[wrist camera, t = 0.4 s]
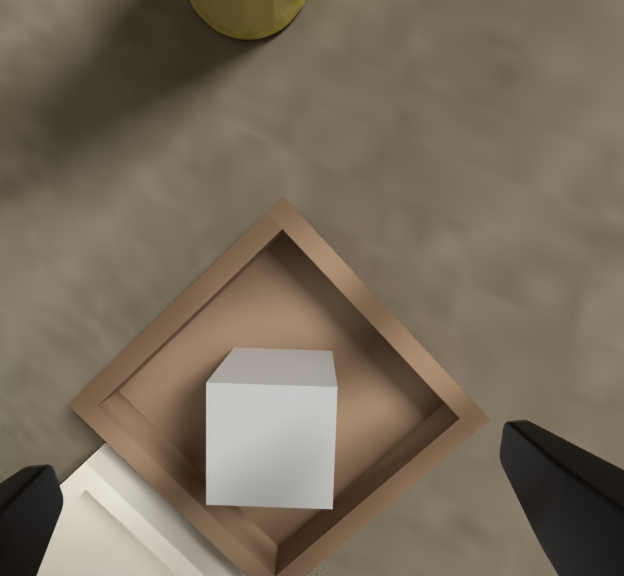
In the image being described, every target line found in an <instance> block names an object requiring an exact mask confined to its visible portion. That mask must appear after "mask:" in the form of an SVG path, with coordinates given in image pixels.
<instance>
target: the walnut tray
mask: <svg viewBox="0 0 624 576" xmlns="http://www.w3.org/2000/svg"><path fill="white" fill-rule="evenodd" d="M234 347H235V348H265V349H295V350H325V351H332V354H333V360H334V367H335V373H336V380H337V386H338V389H337V414H336V439H335V463H334V488H333V509H311V508H283V507H255V506H227V505H206V382H207V381H208V380H209V378H210V377H211V376H212V375H213V373H214V372H215V371H216V370H217V368H218V367H219V366H220V365H221V363H222V362H223V361H224V359H225V358H226V357H227V356H228V354H229V353H230V352H231V351H232V349H233V348H234ZM68 406H69V407H70V408H71V409H72V410H73V411H74V412H76V413H77V414H78V415H79V416H80V417H81V418H82V419H83V420H84V421H85V422H86V423H87V424H88V425H89V426H90V427H91V428H92V429H93V430H94V431H95V432H96V433H97V434H98V435H100V436H101V437H102V438H103V439H104V440H105V441H106V442H107V443H108V444H109V445H110V446H111V447H112V448H113V449H114V450H115V451H116V452H117V453H118V454H119V455H120V456H121V457H122V458H124V459H125V460H126V461H127V462H128V463H129V464H130V465H131V466H132V467H133V468H134V469H135V470H136V471H137V472H138V473H139V474H140V475H141V476H142V477H143V478H144V479H145V480H146V481H148V482H149V483H150V484H151V485H152V486H153V487H154V488H155V489H156V490H157V491H158V492H159V493H160V494H161V495H162V496H163V497H164V498H165V499H166V500H167V501H168V502H169V503H170V504H172V505H173V506H174V507H175V508H176V509H177V510H178V511H179V512H180V513H181V514H182V515H183V516H184V517H185V518H186V519H187V520H188V521H189V522H190V523H191V524H192V525H193V526H194V527H196V528H197V529H198V530H199V531H200V532H201V533H202V534H203V535H204V536H205V537H206V538H207V539H208V540H209V541H210V542H211V543H212V544H213V545H214V546H215V547H216V548H217V549H218V550H220V551H221V552H222V553H223V554H224V555H225V556H226V557H227V558H228V559H229V560H230V561H231V562H232V563H233V564H234V565H235V566H236V567H237V568H238V569H239V570H240V571H241V572H242V573H244V574H245V575H246V576H306V575H307V574H309V573H310V572H311V571H312V570H313V569H314V568H316V567H317V566H318V565H319V564H320V563H322V562H323V561H324V560H325V559H326V558H327V557H329V556H330V555H331V554H332V553H333V552H334V551H336V550H337V549H338V548H339V547H340V546H342V545H343V544H344V543H345V542H346V541H347V540H349V539H350V538H351V537H352V536H353V535H355V534H356V533H357V532H358V531H359V530H360V529H362V528H363V527H364V526H365V525H366V524H368V523H369V522H370V521H371V520H372V519H373V518H375V517H376V516H377V515H378V514H379V513H381V512H382V511H383V510H384V509H385V508H386V507H388V506H389V505H390V504H391V503H392V502H394V501H395V500H396V499H397V498H398V497H399V496H401V495H402V494H403V493H404V492H405V491H407V490H408V489H409V488H410V487H411V486H412V485H414V484H415V483H416V482H417V481H418V480H420V479H421V478H422V477H423V476H424V475H425V474H427V473H428V472H429V471H430V470H431V469H433V468H434V467H435V466H436V465H437V464H438V463H440V462H441V461H442V460H443V459H444V458H446V457H447V456H448V455H449V454H450V453H451V452H453V451H454V450H455V449H456V448H457V447H459V446H460V445H461V444H462V443H463V442H464V441H466V440H467V439H468V438H469V437H470V436H471V435H473V434H474V433H475V432H476V431H477V430H479V429H480V428H481V427H482V426H483V425H484V424H486V423H487V422H488V421H489V420H490V419H489V418H488V416H487V415H486V414H485V413H484V412H483V411H482V410H481V409H480V408H479V407H478V406H477V405H476V404H475V402H474V401H473V400H472V399H471V398H470V397H469V396H468V395H467V394H466V393H465V392H464V391H463V390H462V388H461V387H460V386H459V385H458V384H457V383H456V382H455V381H454V380H453V379H452V378H451V377H450V376H449V374H448V373H447V372H446V371H445V370H444V369H443V368H442V367H441V366H440V365H439V364H438V363H437V362H436V360H435V359H434V358H433V357H432V356H431V355H430V354H429V353H428V352H427V351H426V350H425V349H424V348H423V346H422V345H421V344H420V343H419V342H418V341H417V340H416V339H415V338H414V337H413V336H412V335H411V334H410V332H409V331H408V330H407V329H406V328H405V327H404V326H403V325H402V324H401V323H400V322H399V321H398V320H397V318H396V317H395V316H394V315H393V314H392V313H391V312H390V311H389V310H388V309H387V308H386V307H385V306H384V304H383V303H382V302H381V301H380V300H379V299H378V298H377V297H376V296H375V295H374V294H373V293H372V292H371V290H370V289H369V288H368V287H367V286H366V285H365V284H364V283H363V282H362V281H361V280H360V279H359V278H358V276H357V275H356V274H355V273H354V272H353V271H352V270H351V269H350V268H349V267H348V266H347V265H346V264H345V262H344V261H343V260H342V259H341V258H340V257H339V256H338V255H337V254H336V253H335V252H334V251H333V250H332V248H331V247H330V246H329V245H328V244H327V243H326V242H325V241H324V240H323V239H322V238H321V237H320V236H319V234H318V233H317V232H316V231H315V230H314V229H313V228H312V227H311V226H310V225H309V224H308V223H307V222H306V220H305V219H304V218H303V217H302V216H301V215H300V214H299V213H298V212H297V211H296V210H295V209H294V208H293V206H292V205H291V204H290V203H289V202H288V201H287V200H286V199H285V198H284V197H282V198H281V199H280V200H279V201H278V202H277V203H276V204H275V205H274V206H273V207H272V208H271V209H270V210H269V211H268V212H267V213H266V214H264V215H263V216H262V217H261V218H260V219H259V220H258V221H257V222H256V223H255V224H254V225H253V226H252V227H251V228H250V229H249V230H248V231H247V232H246V233H245V234H244V235H243V236H242V237H241V238H240V239H239V240H238V241H237V242H236V243H235V244H233V245H232V246H231V247H230V248H229V249H228V250H227V251H226V252H225V253H224V254H223V255H222V256H221V257H220V258H219V259H218V260H217V261H216V262H215V263H214V264H213V265H212V266H211V267H210V268H209V269H208V270H207V271H206V272H205V273H204V274H202V275H201V276H200V277H199V278H198V279H197V280H196V281H195V282H194V283H193V284H192V285H191V286H190V287H189V288H188V289H187V290H186V291H185V292H184V293H183V294H182V295H181V296H180V297H179V298H178V299H177V300H176V301H175V302H174V303H173V304H171V305H170V306H169V307H168V308H167V309H166V310H165V311H164V312H163V313H162V314H161V315H160V316H159V317H158V318H157V319H156V320H155V321H154V322H153V323H152V324H151V325H150V326H149V327H148V328H147V329H146V330H145V331H144V332H143V333H142V334H140V335H139V336H138V337H137V338H136V339H135V340H134V341H133V342H132V343H131V344H130V345H129V346H128V347H127V348H126V349H125V350H124V351H123V352H122V353H121V354H120V355H119V356H118V357H117V358H116V359H115V360H114V361H113V362H112V363H111V364H109V365H108V366H107V367H106V368H105V369H104V370H103V371H102V372H101V373H100V374H99V375H98V376H97V377H96V378H95V379H94V380H93V381H92V382H91V383H90V384H89V385H88V386H87V387H86V388H85V389H84V390H83V391H82V392H81V393H80V394H79V395H77V396H76V397H75V398H74V399H73V400H72V401H71V402H70V403H69V404H68Z"/></svg>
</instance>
